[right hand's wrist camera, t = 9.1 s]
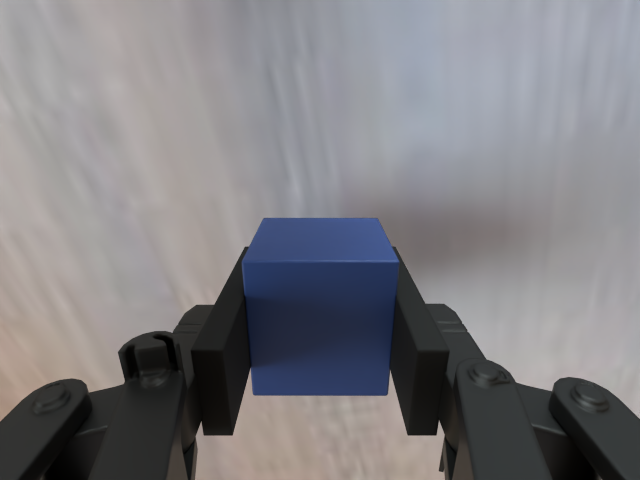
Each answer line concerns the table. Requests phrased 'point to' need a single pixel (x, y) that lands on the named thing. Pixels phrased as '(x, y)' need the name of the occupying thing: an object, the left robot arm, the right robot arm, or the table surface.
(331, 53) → the table surface
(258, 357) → the brick
